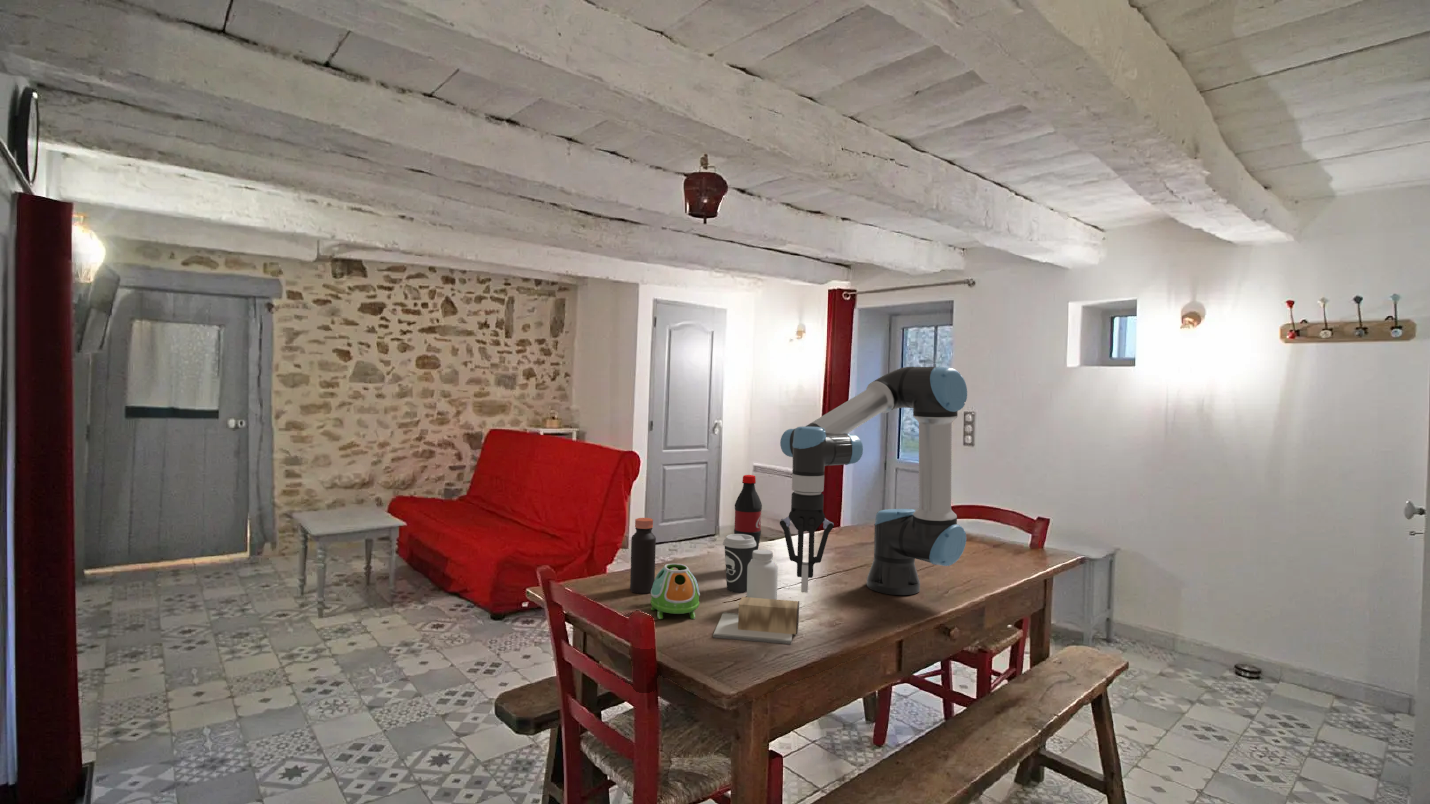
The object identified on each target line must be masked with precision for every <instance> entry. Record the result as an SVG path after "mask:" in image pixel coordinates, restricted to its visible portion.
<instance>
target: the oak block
mask: <svg viewBox="0 0 1430 804" xmlns="http://www.w3.org/2000/svg"><path fill="white" fill-rule="evenodd" d="M737 614H738V629H739V630H751V631H763V632H774V633H786V634H792V635H798V632H799V625H800V624H799V617H800V601H799V600H788V599H777V600H776V599H763V598H750V597H747V596H741V598H740V601H739V604H738V613H737Z"/></svg>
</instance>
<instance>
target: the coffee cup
mask: <svg viewBox="0 0 1430 804" xmlns="http://www.w3.org/2000/svg"><path fill="white" fill-rule="evenodd" d="M722 545H723V547H724V558H725V559H724V560H725V576H726V578H725V579H726V590H727V591H728V592H731V593H738V594H741V593H742V594H743V593H747V567H748V564H749V562H751V561H752V560H753V551H754V549H755V546H756V541H755V540H754V537H753V536H750V535H745V534H734V533H733V534H732V533H731V534H728V535H726V536H725V538H724V540H723V542H722Z"/></svg>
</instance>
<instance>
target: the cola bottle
mask: <svg viewBox="0 0 1430 804" xmlns="http://www.w3.org/2000/svg"><path fill="white" fill-rule="evenodd" d="M756 480H757V479H756V476H755V475H753V474H744V475H743V476H742V481H741V482H742V484H743V485H742V489H741V491H740V493H739V495H738V497H737V499H736V501H735V503H734V529H733V534H745V535H750V536H753V537H754V540H755V541H756V546H755V549H754V550H759V545H760V541H761V537H762V536H761V534H762V509H763V503H762V502H761V499H760V496H759V494H758V492H757V491H756V485H755V484H756V482H757V481H756Z"/></svg>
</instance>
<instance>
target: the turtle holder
mask: <svg viewBox="0 0 1430 804" xmlns="http://www.w3.org/2000/svg"><path fill="white" fill-rule="evenodd" d="M699 589H700V588H699V585H698V581H697V578H696V577H695V576H694V574H693V572H691V571H690V568H689V567H688V566H687V565H685V564H682V563H666V564H665V565H664V566H663V567H662V568H660V570H659V571H658V572H657V574H655V581H654V583H653V586H652V589H651V593H650V595H651V596H650V597H651V599H650V604H651V608H650V610H651V611H657V613H656V614H657V615H656V617H657V619H658V620H663V619H664V613H666V614H674V615H676V614H677V615H680V614H688V613H689V614H688V615H689V618H690V619H691V620H695V619H696V613H695V610H697V609H698V608H699V606H700V601H699V600H700V596H701V593H700V590H699Z"/></svg>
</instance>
